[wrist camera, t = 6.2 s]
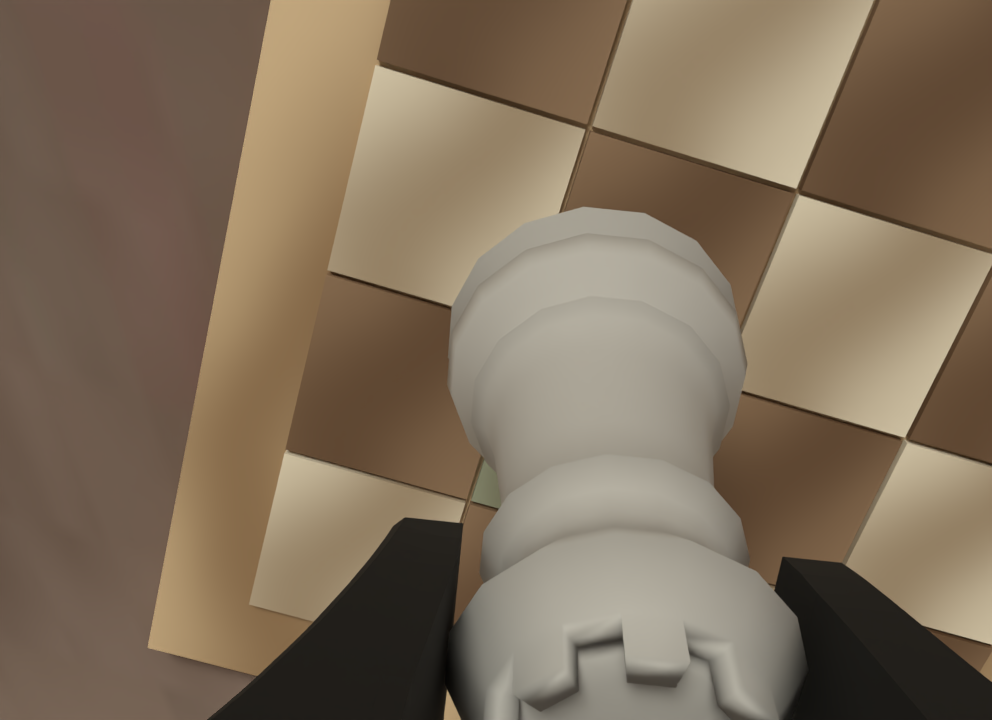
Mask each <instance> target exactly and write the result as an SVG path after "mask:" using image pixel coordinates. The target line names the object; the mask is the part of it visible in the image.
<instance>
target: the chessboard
mask: <svg viewBox="0 0 992 720" xmlns="http://www.w3.org/2000/svg"><path fill="white" fill-rule="evenodd" d="M581 207H591V208H600V209H610V210H620V211H630V212H639V213H646V214H647V215H649V216H651V217H653V218H655V219H657V220H659V221H660V222H662V223H664V224H666V225H668V226H670V227H672V228H674V229H675V230H677V231H679V232H681V233H683V234H685V235H687V236H688V237H690V238H692V239H694V240H696V241H697V242H698V243H699V245H700V246H701V247H702V248H703V250H704V251H705V252H706V254H707V255H708V256H709V257H710V259H711V260H712V261H713V263H714V264H715V265H716V267H717V268H718V269H719V270H720V272H721V273H722V274H723V276H724V277H725V278H726V280H727V281H728V282H729V283H730V285H731V289H732V294H733V299H734V304H735V308H736V312H737V316H738V321H739V325H740V330H741V335H742V340H743V344H744V349H745V354H746V359H747V363H748V364H747V370H746V375H745V380H744V384H743V388H742V392H741V396H740V400H739V404H738V408H737V412H736V416H735V420H734V424H733V427H732V428H731V429H730V431H729V432H728V433H727V435H726V436H725V437H724V438H723V440H722V441H721V445H720V449H719V450H718V451H717V452H716V454H715V455H714V456H713V473H714V488H715V489H716V491H717V492H718V493H719V494H720V495H721V496H722V497H723V499H724V500H725V501H726V502H727V503H728V504H729V505H730V507H731V508H732V509H733V510H734V511H735V512H736V514H737V515H738V516H739V517H740V518H741V522H742V526H743V531H744V535H745V539H746V543H747V548H748V552H749V556H750V562H749V566H748V568H751V569H753V570H755V571H757V572H758V573H759V574H760V576H761V577H762V578H763V579H764V580H765V581H766V582H767V584H768V585H769V586H770V587H771V588H772V589H773V590H774V589H775V585H776V581H777V577H778V573H779V569H780V565H781V561H782V557H792V558H801V559H811V560H821V561H830V562H840V563H843V564H844V565H846V566H847V567H849V568H850V569H852V570H853V571H855V572H856V573H857V574H859V575H860V576H861V577H863V578H864V579H865V580H867V581H868V582H869V583H871V584H872V585H873V586H874V587H876V588H877V589H878V590H879V591H881V592H882V593H883V594H884V595H886V596H887V597H888V598H889V599H891V600H892V601H893V602H894V603H896V604H897V605H898V606H899V607H900V608H902V609H903V610H904V611H905V612H907V613H908V614H909V615H910V616H911V617H913V618H914V619H915V620H916V621H918V622H919V623H920V624H921V625H922V626H924V627H925V628H926V629H927V630H928V631H930V632H931V633H932V634H933V635H935V636H936V637H937V638H938V639H939V640H941V641H942V642H943V643H944V644H945V645H947V646H948V647H949V648H950V649H952V650H953V651H954V652H955V653H956V654H958V655H959V656H960V657H961V658H963V659H964V660H965V661H966V662H968V663H969V664H970V665H971V666H972V667H974V668H975V669H976V670H977V671H979V672H980V673H981V674H982V675H984V676H985V677H986V678H987V679H989V680H990V681H991V682H992V0H271V3H270V8H269V13H268V18H267V24H266V29H265V34H264V39H263V45H262V50H261V55H260V60H259V66H258V71H257V76H256V81H255V87H254V92H253V97H252V102H251V108H250V113H249V118H248V123H247V129H246V134H245V139H244V145H243V150H242V155H241V160H240V166H239V171H238V176H237V181H236V187H235V192H234V197H233V202H232V208H231V213H230V218H229V223H228V229H227V234H226V239H225V244H224V250H223V255H222V260H221V265H220V271H219V276H218V281H217V286H216V292H215V297H214V302H213V307H212V313H211V318H210V323H209V328H208V334H207V339H206V344H205V349H204V355H203V360H202V365H201V370H200V376H199V381H198V386H197V391H196V397H195V402H194V407H193V412H192V418H191V423H190V428H189V433H188V439H187V444H186V449H185V454H184V460H183V465H182V470H181V475H180V481H179V486H178V491H177V496H176V502H175V507H174V512H173V517H172V523H171V528H170V533H169V538H168V544H167V549H166V554H165V559H164V565H163V570H162V575H161V580H160V586H159V591H158V596H157V601H156V607H155V612H154V617H153V622H152V628H151V633H150V638H149V643H148V648H151V649H155V650H159V651H162V652H166V653H170V654H174V655H178V656H182V657H186V658H189V659H193V660H197V661H201V662H205V663H209V664H213V665H216V666H220V667H224V668H228V669H232V670H236V671H240V672H243V673H247V674H251V675H255V676H258V675H259V674H260V673H261V672H262V671H263V670H264V669H266V668H267V667H268V666H269V665H270V664H271V663H272V662H273V661H274V660H275V659H276V658H277V657H278V656H279V655H280V654H281V653H282V652H283V651H285V650H286V649H287V648H288V647H289V646H290V645H291V644H292V643H293V642H294V641H295V640H296V639H297V638H298V637H299V636H300V635H301V634H302V633H303V632H304V631H305V630H306V629H307V628H308V627H309V626H310V625H311V624H312V623H313V622H314V621H315V620H316V619H317V618H318V616H319V615H320V614H321V613H322V612H323V611H324V610H325V609H326V608H327V607H328V606H329V604H330V603H331V602H332V601H333V600H334V599H335V598H336V597H337V596H338V595H339V594H340V592H341V591H342V590H343V589H344V588H345V587H346V586H347V585H348V584H349V582H350V581H351V580H352V579H353V578H354V577H355V575H356V574H357V573H358V572H359V571H360V569H361V568H362V567H363V566H364V565H365V563H366V562H367V561H368V560H369V558H370V557H371V556H372V555H373V553H374V552H375V551H376V549H377V548H378V547H379V545H380V544H381V543H382V541H383V540H384V539H385V537H386V536H387V534H388V533H389V531H390V530H391V528H392V527H393V526H394V525H395V524H396V523H398V522H399V521H400V520H402V519H403V518H405V517H408V518H418V519H427V520H437V521H446V522H456V523H463V533H462V543H461V554H460V564H459V574H458V584H457V595H456V605H455V615H454V624H455V623H456V622H457V620H458V619H459V617H460V616H461V614H462V613H463V611H464V610H465V608H466V607H467V606H468V604H469V603H470V601H471V600H472V598H473V597H474V595H475V594H476V592H477V591H478V590H479V588H480V587H481V585H482V584H484V583H483V581H482V578H481V576H480V574H479V571H480V561H481V552H482V542H483V533H484V531H485V529H486V528H487V526H488V525H489V523H490V522H491V520H492V519H493V517H494V516H495V514H496V513H497V511H498V510H499V508H500V507H501V499H500V492H499V485H498V479H497V473H496V472H495V471H494V470H493V469H492V468H491V467H490V466H489V465H488V464H487V463H486V461H485V459H484V457H483V456H482V455H481V454H480V453H479V452H478V451H477V450H476V449H475V448H474V447H473V446H472V445H471V444H470V443H469V441H468V438H467V435H466V433H465V430H464V428H463V425H462V422H461V420H460V417H459V415H458V412H457V409H456V407H455V404H454V401H453V399H452V396H451V394H450V391H449V388H448V386H447V379H448V366H449V358H448V350H449V337H450V323H451V310H452V305H453V303H454V301H455V299H456V298H457V296H458V294H459V292H460V290H461V289H462V287H463V285H464V283H465V281H466V280H467V278H468V276H469V274H470V272H471V271H472V269H473V267H474V265H475V264H476V262H477V260H478V258H480V257H481V256H482V255H484V254H485V253H486V252H488V251H489V250H490V249H491V248H493V247H494V246H495V245H497V244H498V243H499V242H501V241H502V240H503V239H505V238H506V237H507V236H508V235H510V234H511V233H512V232H514V231H515V230H516V229H518V228H519V227H520V226H521V225H523V224H524V223H527V222H531V221H534V220H538V219H541V218H545V217H548V216H552V215H556V214H559V213H563V212H566V211H570V210H574V209H577V208H581ZM444 720H461V718H460V716H459V714H458V712H457V710H456V708H455V705H454V703H453V701H452V699H451V697H450V695H449V692H448V690H447V695H446V704H445V712H444Z"/></svg>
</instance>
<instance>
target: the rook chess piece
mask: <svg viewBox="0 0 992 720" xmlns="http://www.w3.org/2000/svg"><path fill="white" fill-rule="evenodd" d="M448 358H449V366H448V379H447V386H448V388H449V391H450V394H451V396H452V399H453V401H454V404H455V407H456V409H457V412H458V415H459V417H460V420H461V422H462V425H463V428H464V430H465V433H466V435H467V438H468V441H469V443H470V444H471V445H472V446H473V447H474V448H475V449H476V450H477V451H478V452H479V453H480V454H481V455H482V456H483V457H484V459H485V461H486V463H487V464H488V465H489V466H490V467H491V468H492V469H493V470H494V471H495V472H496V473H497V479H498V485H499V492H500V499H501V507H500V508H499V510H498V511H497V513H496V514H495V516H494V517H493V519H492V520H491V522H490V523H489V525H488V526H487V528H486V529H485V531H484V533H483V542H482V552H481V561H480V571H479V574H480V576H481V578H482V581H483V583H484V584H482V585H481V587H480V588H479V590H478V591H477V592H476V594H475V595H474V597H473V598H472V600H471V601H470V603H469V604H468V606H467V607H466V608H465V610H464V611H463V613H462V614H461V616H460V617H459V619H458V620H457V622H456V623H455V624H454V626H453V627H452V629H451V630H450V632H449V638H448V649H447V660H446V671H445V683H444V684H445V686H446V688H447V690H448V692H449V695H450V697H451V699H452V701H453V703H454V705H455V708H456V710H457V712H458V714H459V716H460V718H461V720H791V719H792V716H793V713H794V710H795V707H796V704H797V701H798V699H799V696H800V693H801V690H802V687H803V684H804V681H805V678H806V676H807V673H808V670H809V669H808V665H807V660H806V655H805V651H804V646H803V641H802V637H801V632H800V627H799V622H798V618H797V616H796V615H795V614H794V613H793V612H792V611H791V609H790V608H789V607H788V606H787V605H786V604H785V603H784V602H783V600H782V599H781V598H780V597H779V596H778V595H777V594H776V593H775V591H774V590H773V589H772V588H771V587H770V586H769V585H768V584H767V582H766V581H765V580H764V579H763V578H762V577H761V576H760V574H759V573H758V572H757V571H755V570H753V569H751V568H748V566H749V562H750V556H749V552H748V548H747V543H746V539H745V535H744V531H743V526H742V522H741V518H740V517H739V516H738V515H737V514H736V512H735V511H734V510H733V509H732V508H731V507H730V505H729V504H728V503H727V502H726V501H725V500H724V499H723V497H722V496H721V495H720V494H719V493H718V492H717V491H716V489H715V488H714V473H713V456H714V455H715V454H716V452H717V451H718V450H719V449H720V445H721V441H722V440H723V438H724V437H725V436H726V435H727V433H728V432H729V431H730V429H731V428H732V427H733V424H734V420H735V416H736V412H737V408H738V404H739V400H740V396H741V392H742V388H743V384H744V380H745V375H746V370H747V364H748V363H747V359H746V354H745V349H744V344H743V340H742V335H741V330H740V325H739V321H738V316H737V312H736V308H735V304H734V299H733V294H732V289H731V285H730V283H729V282H728V281H727V280H726V278H725V277H724V276H723V274H722V273H721V272H720V270H719V269H718V268H717V267H716V265H715V264H714V263H713V261H712V260H711V259H710V257H709V256H708V255H707V254H706V252H705V251H704V250H703V248H702V247H701V246H700V245H699V243H698V242H697V241H696V240H694V239H692V238H690V237H688V236H687V235H685V234H683V233H681V232H679V231H677V230H675V229H674V228H672V227H670V226H668V225H666V224H664V223H662V222H660V221H659V220H657V219H655V218H653V217H651V216H649V215H647V214H646V213H639V212H630V211H620V210H610V209H600V208H591V207H581V208H577V209H574V210H570V211H566V212H563V213H559V214H556V215H552V216H548V217H545V218H541V219H538V220H534V221H531V222H527V223H524V224H523V225H521V226H520V227H519V228H518V229H516V230H515V231H514V232H512V233H511V234H510V235H508V236H507V237H506V238H505V239H503V240H502V241H501V242H499V243H498V244H497V245H495V246H494V247H493V248H491V249H490V250H489V251H488V252H486V253H485V254H484V255H482V256H481V257H480V258H478V260H477V262H476V264H475V265H474V267H473V269H472V271H471V272H470V274H469V276H468V278H467V280H466V281H465V283H464V285H463V287H462V289H461V290H460V292H459V294H458V296H457V298H456V299H455V301H454V303H453V305H452V310H451V323H450V337H449V350H448Z"/></svg>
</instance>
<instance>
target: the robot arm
mask: <svg viewBox="0 0 992 720" xmlns="http://www.w3.org/2000/svg"><path fill="white" fill-rule="evenodd" d="M462 533H463V523H456V522H446V521H437V520H427V519H418V518H408V517H405V518H403V519H402V520H400V521H399V522H398V523H396V524H395V525H394V526H393V527H392V528H391V530H390V531H389V533H388V534H387V536H386V537H385V539H384V540H383V541H382V543H381V544H380V545H379V547H378V548H377V549H376V551H375V552H374V553H373V555H372V556H371V557H370V558H369V560H368V561H367V562H366V563H365V565H364V566H363V567H362V568H361V569H360V571H359V572H358V573H357V574H356V575H355V577H354V578H353V579H352V580H351V581H350V582H349V584H348V585H347V586H346V587H345V588H344V589H343V590H342V591H341V592H340V594H339V595H338V596H337V597H336V598H335V599H334V600H333V601H332V602H331V603H330V604H329V606H328V607H327V608H326V609H325V610H324V611H323V612H322V613H321V614H320V615H319V616H318V618H317V619H316V620H315V621H314V622H313V623H312V624H311V625H310V626H309V627H308V628H307V629H306V630H305V631H304V632H303V633H302V634H301V635H300V636H299V637H298V638H297V639H296V640H295V641H294V642H293V643H292V644H291V645H290V646H289V647H288V648H287V649H286V650H285V651H283V652H282V653H281V654H280V655H279V656H278V657H277V658H276V659H275V660H274V661H273V662H272V663H271V664H270V665H269V666H268V667H267V668H266V669H264V670H263V671H262V672H261V673H260V674H259V675H258V676H257V677H256V678H255V679H254V680H253V681H252V682H251V683H250V684H248V685H247V686H246V687H245V688H244V689H243V690H242V691H241V692H239V693H238V694H237V695H236V696H235V697H234V698H232V699H231V700H230V701H229V702H228V703H227V704H225V705H224V706H223V707H222V708H221V709H220V710H218V711H217V712H216V713H215V714H213V715H212V716H211V717H210V718H209V719H207V720H444V712H445V704H446V695H447V688H446V686H445V684H444V683H445V671H446V660H447V649H448V638H449V632H450V630H451V629H452V627H453V626H454V615H455V605H456V595H457V584H458V574H459V564H460V554H461V543H462ZM774 591H775V593H776V594H777V595H778V596H779V597H780V598H781V599H782V600H783V602H784V603H785V604H786V605H787V606H788V607H789V608H790V609H791V611H792V612H793V613H794V614H795V615H796V616H797V618H798V622H799V627H800V632H801V637H802V641H803V646H804V651H805V655H806V660H807V665H808V669H809V670H808V673H807V676H806V678H805V681H804V684H803V687H802V690H801V693H800V696H799V699H798V701H797V704H796V707H795V710H794V713H793V716H792V719H791V720H992V682H991V681H990V680H989V679H987V678H986V677H985V676H984V675H982V674H981V673H980V672H979V671H977V670H976V669H975V668H974V667H972V666H971V665H970V664H969V663H968V662H966V661H965V660H964V659H963V658H961V657H960V656H959V655H958V654H956V653H955V652H954V651H953V650H952V649H950V648H949V647H948V646H947V645H945V644H944V643H943V642H942V641H941V640H939V639H938V638H937V637H936V636H935V635H933V634H932V633H931V632H930V631H928V630H927V629H926V628H925V627H924V626H922V625H921V624H920V623H919V622H918V621H916V620H915V619H914V618H913V617H911V616H910V615H909V614H908V613H907V612H905V611H904V610H903V609H902V608H900V607H899V606H898V605H897V604H896V603H894V602H893V601H892V600H891V599H889V598H888V597H887V596H886V595H884V594H883V593H882V592H881V591H879V590H878V589H877V588H876V587H874V586H873V585H872V584H871V583H869V582H868V581H867V580H865V579H864V578H863V577H861V576H860V575H859V574H857V573H856V572H855V571H853V570H852V569H850V568H849V567H847V566H846V565H844V564H843V563H840V562H830V561H821V560H811V559H801V558H792V557H782V561H781V565H780V569H779V573H778V577H777V581H776V585H775V589H774Z"/></svg>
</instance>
